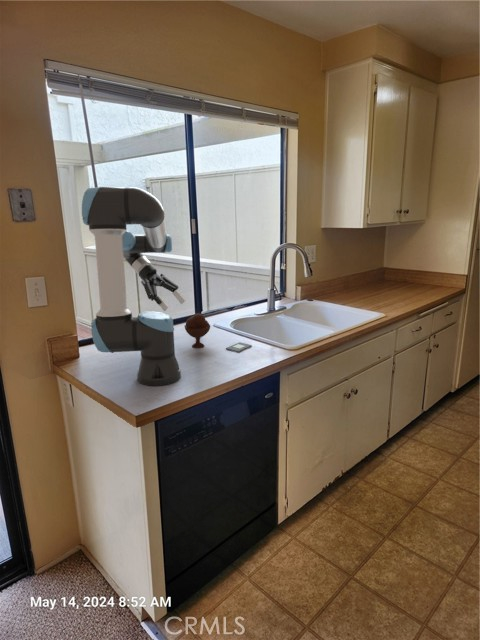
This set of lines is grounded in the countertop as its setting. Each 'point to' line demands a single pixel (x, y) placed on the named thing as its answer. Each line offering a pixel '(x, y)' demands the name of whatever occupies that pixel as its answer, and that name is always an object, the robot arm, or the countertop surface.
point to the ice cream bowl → (197, 328)
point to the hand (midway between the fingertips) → (175, 305)
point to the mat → (238, 347)
